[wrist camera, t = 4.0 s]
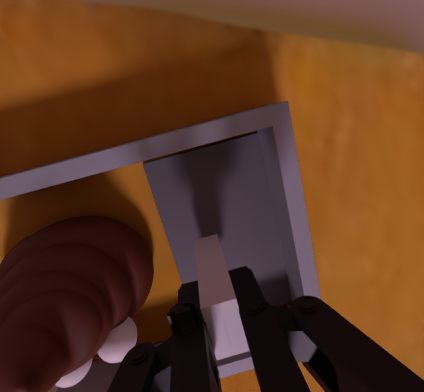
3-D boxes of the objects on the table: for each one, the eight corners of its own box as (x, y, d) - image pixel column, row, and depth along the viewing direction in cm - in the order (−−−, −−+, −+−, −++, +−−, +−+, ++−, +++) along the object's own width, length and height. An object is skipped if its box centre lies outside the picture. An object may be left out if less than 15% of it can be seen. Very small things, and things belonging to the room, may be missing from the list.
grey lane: (267, 104, 17) (287, 101, 14) (306, 311, 22) (328, 346, 18) (-32, 185, 17) (-87, 201, 13) (71, 379, 21) (50, 428, 18)
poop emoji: (114, 187, 18) (44, 255, 9) (179, 286, 20) (176, 420, 11) (-18, 257, 18) (-217, 393, 9) (61, 347, 20) (-35, 524, 11)
